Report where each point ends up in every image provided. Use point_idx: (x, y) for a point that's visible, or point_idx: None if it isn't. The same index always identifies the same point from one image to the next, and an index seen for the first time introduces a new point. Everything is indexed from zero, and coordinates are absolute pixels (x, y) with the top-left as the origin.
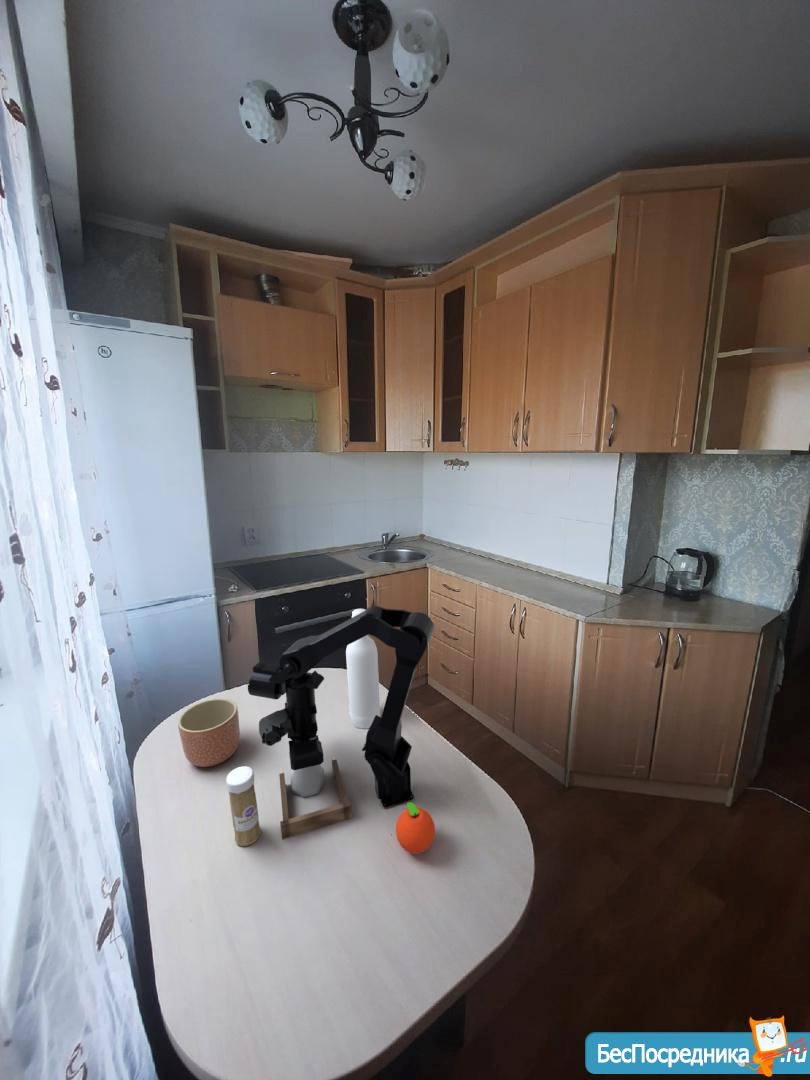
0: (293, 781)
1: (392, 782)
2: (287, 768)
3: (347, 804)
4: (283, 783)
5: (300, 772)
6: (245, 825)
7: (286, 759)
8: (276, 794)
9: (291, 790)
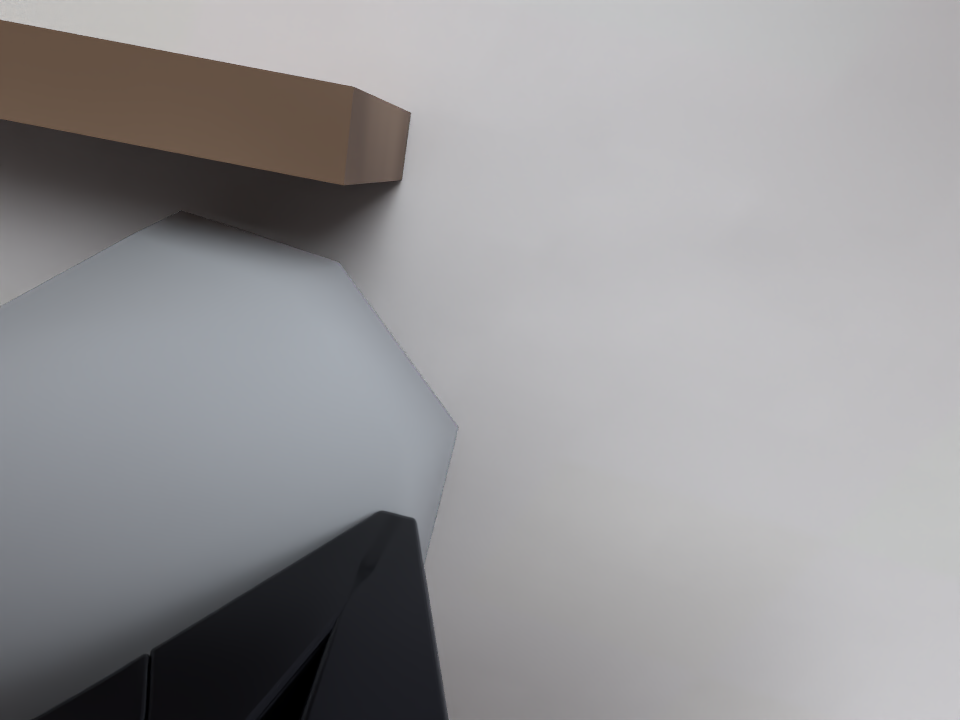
0: (112, 276)
1: None
2: (677, 280)
3: None
4: (79, 102)
5: None
6: None
7: (858, 315)
8: (290, 21)
9: (184, 215)
